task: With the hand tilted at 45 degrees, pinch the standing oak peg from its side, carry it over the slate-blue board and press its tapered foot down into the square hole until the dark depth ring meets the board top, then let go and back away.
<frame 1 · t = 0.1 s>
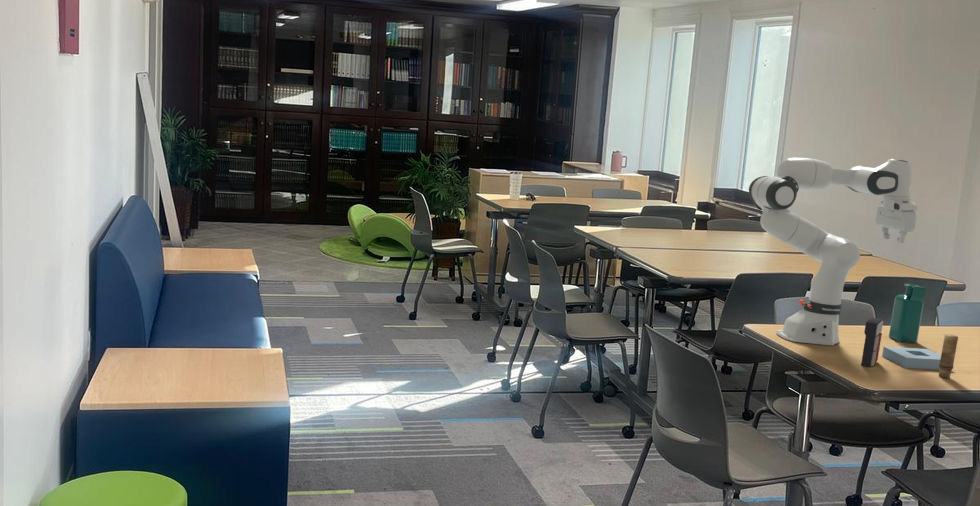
hand: (893, 240, 340), 39 cm above the table, tool pointing down, fingers open, 8 cm apart
peg: (944, 377, 304), on the table
seat board: (915, 363, 320), on the table
teal bottle: (903, 340, 355), on the table
calculator: (868, 364, 313), on the table
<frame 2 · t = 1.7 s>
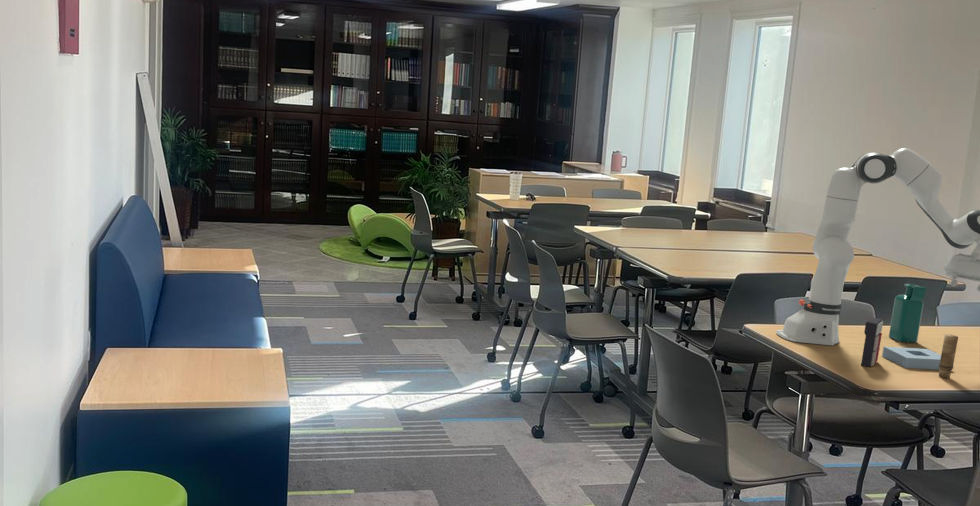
hand: (965, 287, 314), 28 cm above the table, tool tilted 45°, fingers open, 8 cm apart
nothing on the table moved.
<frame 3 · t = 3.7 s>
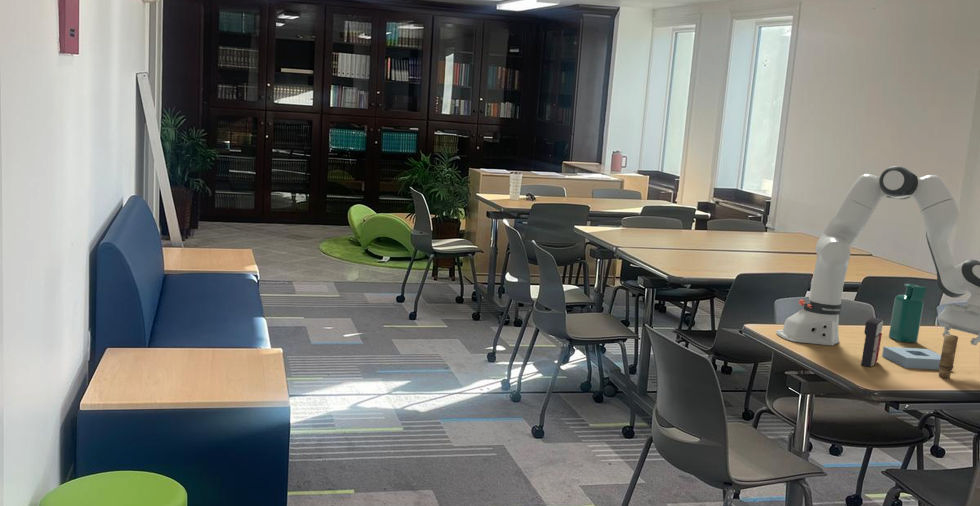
hand: (958, 340, 305), 12 cm above the table, tool tilted 45°, fingers open, 8 cm apart
nothing on the table moved.
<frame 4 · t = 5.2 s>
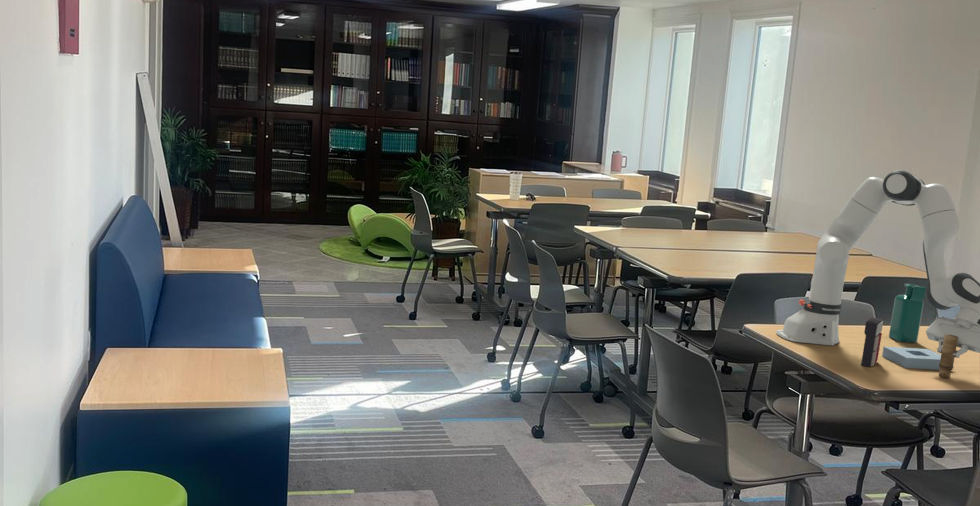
hand: (947, 354, 303), 8 cm above the table, tool tilted 45°, fingers closed on peg, 4 cm apart
peg: (944, 377, 304), on the table, touching gripper
everything else where it was.
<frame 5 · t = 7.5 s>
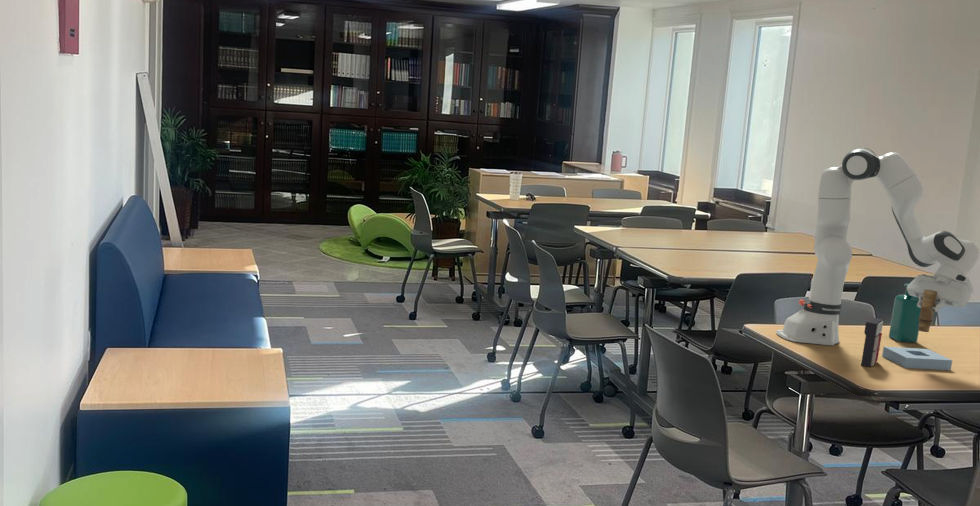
hand: (926, 308, 315), 20 cm above the table, tool tilted 45°, fingers closed on peg, 4 cm apart
peg: (923, 330, 316), point 12 cm above the table, touching gripper
everything else where it was.
when the fingers open (8 cm above the table, at t = 9.8 s): peg stays where it is, resting in seat board.
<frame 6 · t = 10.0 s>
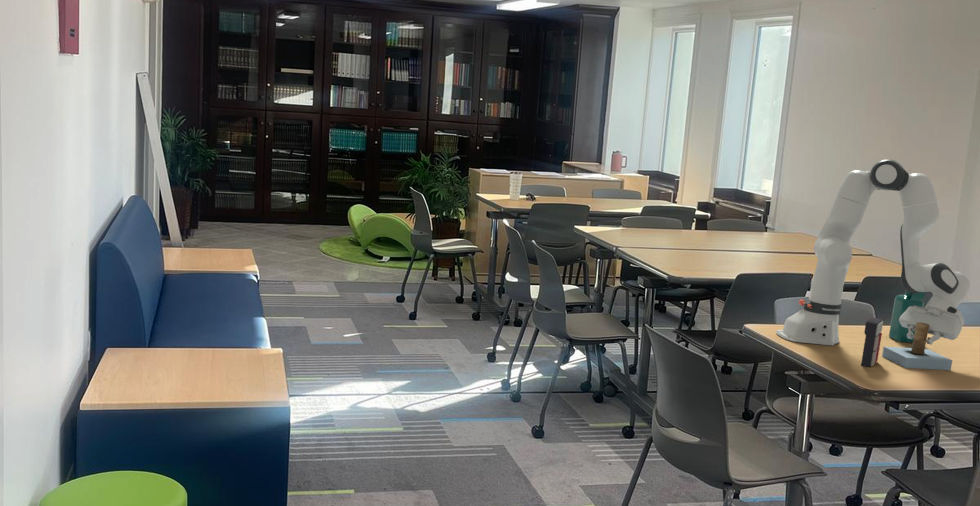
hand: (918, 340, 318), 8 cm above the table, tool tilted 45°, fingers open, 6 cm apart
peg: (915, 363, 320), resting in seat board
everything else where it was.
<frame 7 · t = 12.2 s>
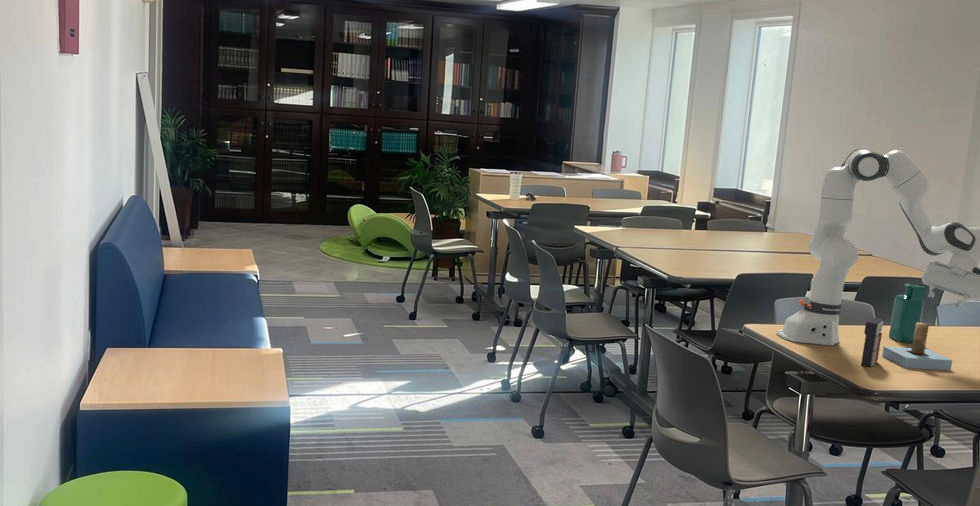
hand: (943, 301, 323), 21 cm above the table, tool tilted 35°, fingers open, 8 cm apart
nothing on the table moved.
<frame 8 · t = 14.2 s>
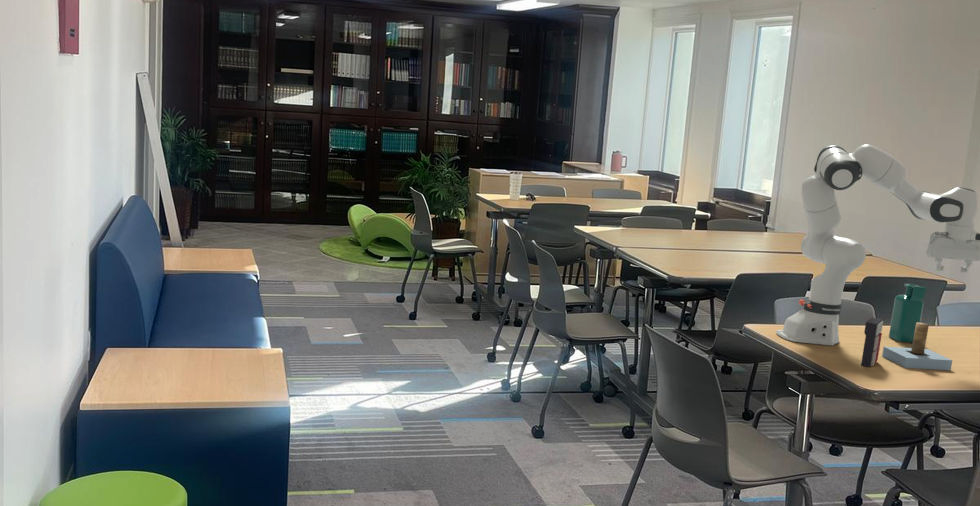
hand: (951, 271, 329), 31 cm above the table, tool pointing down, fingers open, 8 cm apart
nothing on the table moved.
at the end: peg 0.0 cm off-centre in the seat board, point 0.0 cm above the seat board's base; peg tilted 0°; the gripper is holding nothing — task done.
